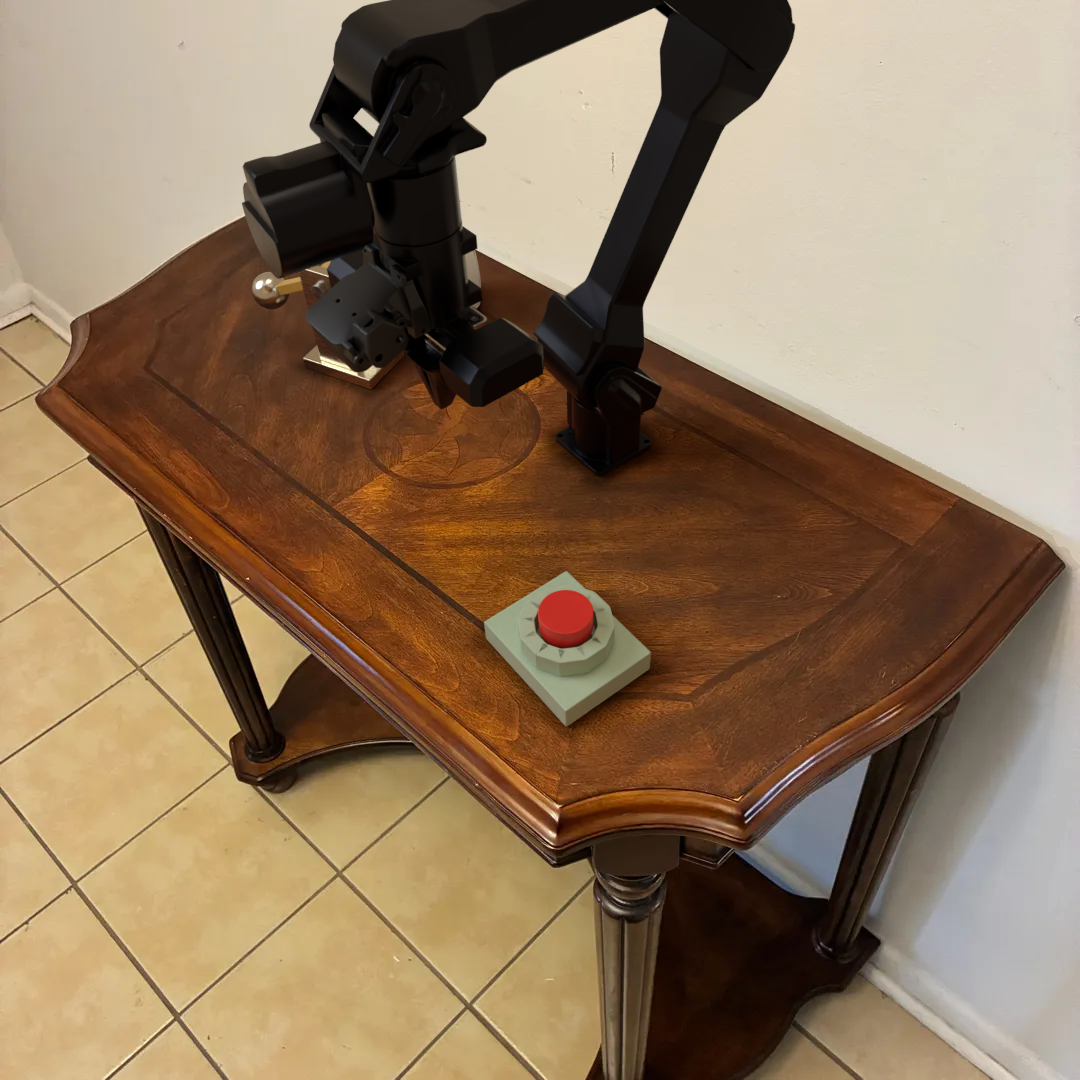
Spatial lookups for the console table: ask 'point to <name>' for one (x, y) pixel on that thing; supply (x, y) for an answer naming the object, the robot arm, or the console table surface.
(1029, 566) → the console table surface
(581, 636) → the red button
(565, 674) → the button box
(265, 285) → the switch lever
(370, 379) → the switch bracket
